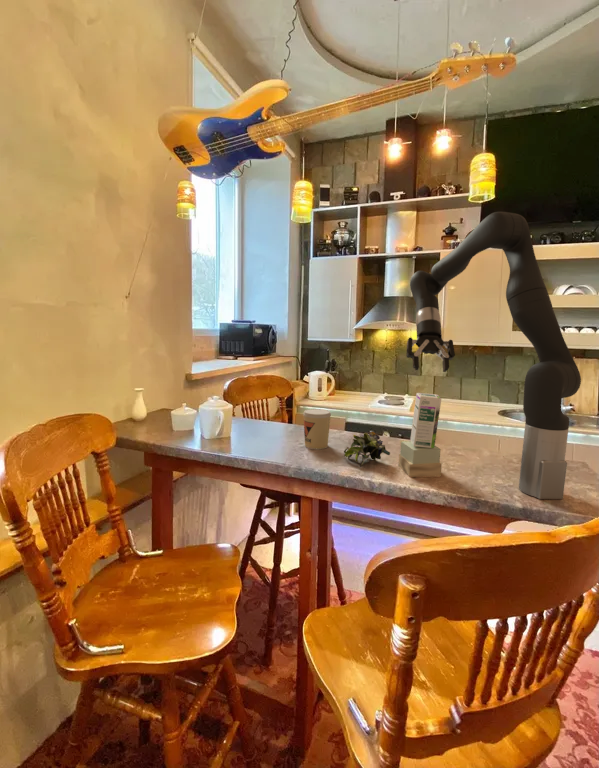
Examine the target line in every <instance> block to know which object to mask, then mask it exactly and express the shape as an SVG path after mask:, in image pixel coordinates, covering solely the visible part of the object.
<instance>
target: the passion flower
mask: <svg viewBox="0 0 599 768" xmlns="http://www.w3.org/2000/svg"><path fill="white" fill-rule="evenodd" d="M352 436H353V438H352V441H353V442H352V443H351V445H350V447H348V446H346V447H345V449H344V450H343V453H344V455H343V456H344V457H346V458H347V459H348V460H349V459H351V458H352V456H353V455H355V457H354V460H355V462H358V459H359V456H360V455H361V461H362V462H361V464H360V467H362V466H363V465H364V463H365V462H366V460H367V459H369V458H370V459H371V460H373V461H374V460H376V459H377V460H381V459H382V457H381V455H382V454H385V455H386V456H390V455H391V452H390V451H388V450H387V449H386V445H385V444H383V443H384V441H383V440H381V437H380V436H379V434H378V433H375V432H374V431H372V432H369V431H368V432H364V433H363V434H360V435H356V434H353V435H352ZM368 453H369V454H368Z"/></svg>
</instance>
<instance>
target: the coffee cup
mask: <svg viewBox="0 0 599 768" xmlns="http://www.w3.org/2000/svg"><path fill="white" fill-rule="evenodd" d="M302 415H303V432H304V433H303V435H304V446H305V447H306V448H307V449H311V450H323V449H326V448H328V446H329V445H328V444H329V435H330V427H331V425H330V424H331V417H332V413H331V411H330V410H329V409H321V408H311V409H310V408H309V409H308V408H307V409H305V410H304V411H303V413H302Z"/></svg>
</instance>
